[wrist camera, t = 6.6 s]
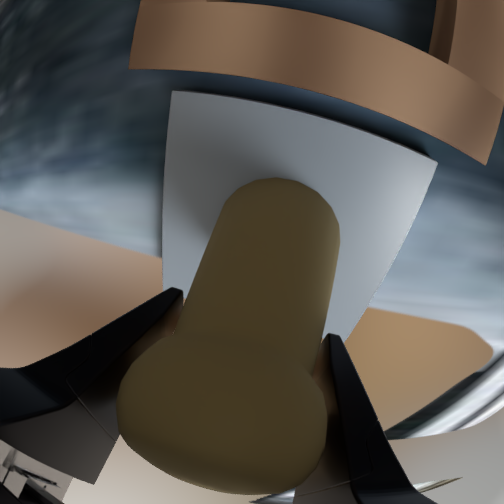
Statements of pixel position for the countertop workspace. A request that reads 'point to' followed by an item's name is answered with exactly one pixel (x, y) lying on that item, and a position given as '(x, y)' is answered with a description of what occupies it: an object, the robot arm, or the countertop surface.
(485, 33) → the pocket frame
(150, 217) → the countertop surface
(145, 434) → the cork
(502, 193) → the countertop surface
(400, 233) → the mat
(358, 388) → the robot arm
